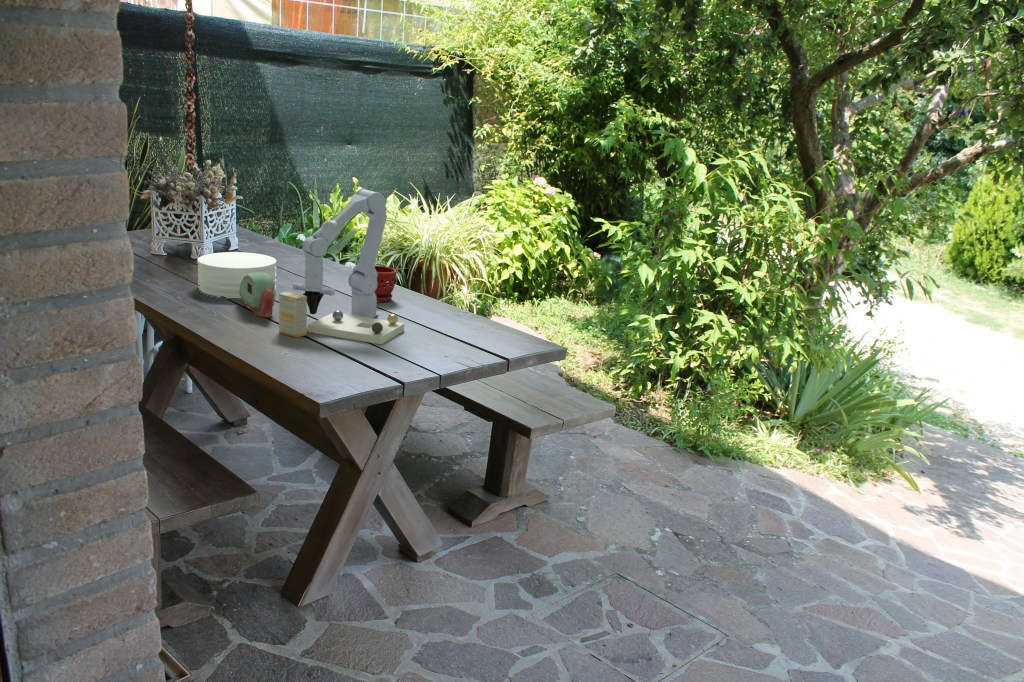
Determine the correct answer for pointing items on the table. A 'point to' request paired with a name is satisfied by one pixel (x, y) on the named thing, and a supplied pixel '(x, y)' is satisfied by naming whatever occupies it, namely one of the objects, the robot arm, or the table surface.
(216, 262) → the plate stack
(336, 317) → the steel ball
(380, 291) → the plant pot
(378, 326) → the black rubber ball
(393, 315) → the brass ball
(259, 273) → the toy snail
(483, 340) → the table surface
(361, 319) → the hole plate
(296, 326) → the supplement box
